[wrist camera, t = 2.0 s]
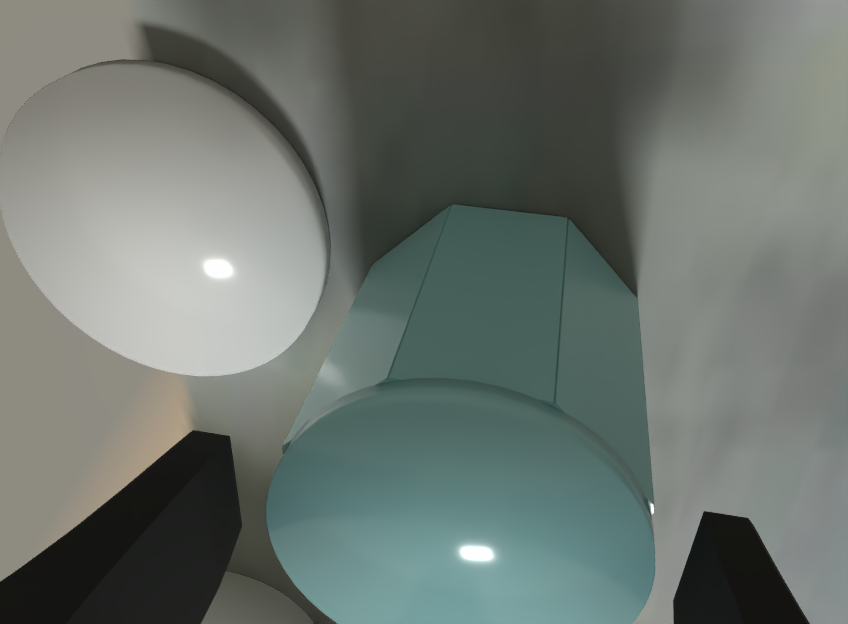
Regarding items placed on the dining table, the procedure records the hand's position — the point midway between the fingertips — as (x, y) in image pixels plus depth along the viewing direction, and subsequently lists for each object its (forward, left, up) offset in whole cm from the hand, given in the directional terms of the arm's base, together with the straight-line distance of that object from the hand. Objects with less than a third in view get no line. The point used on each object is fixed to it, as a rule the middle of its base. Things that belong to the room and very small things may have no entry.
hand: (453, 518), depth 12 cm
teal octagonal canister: (0, 0, -5) cm, 5 cm away
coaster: (+4, -6, -5) cm, 9 cm away
